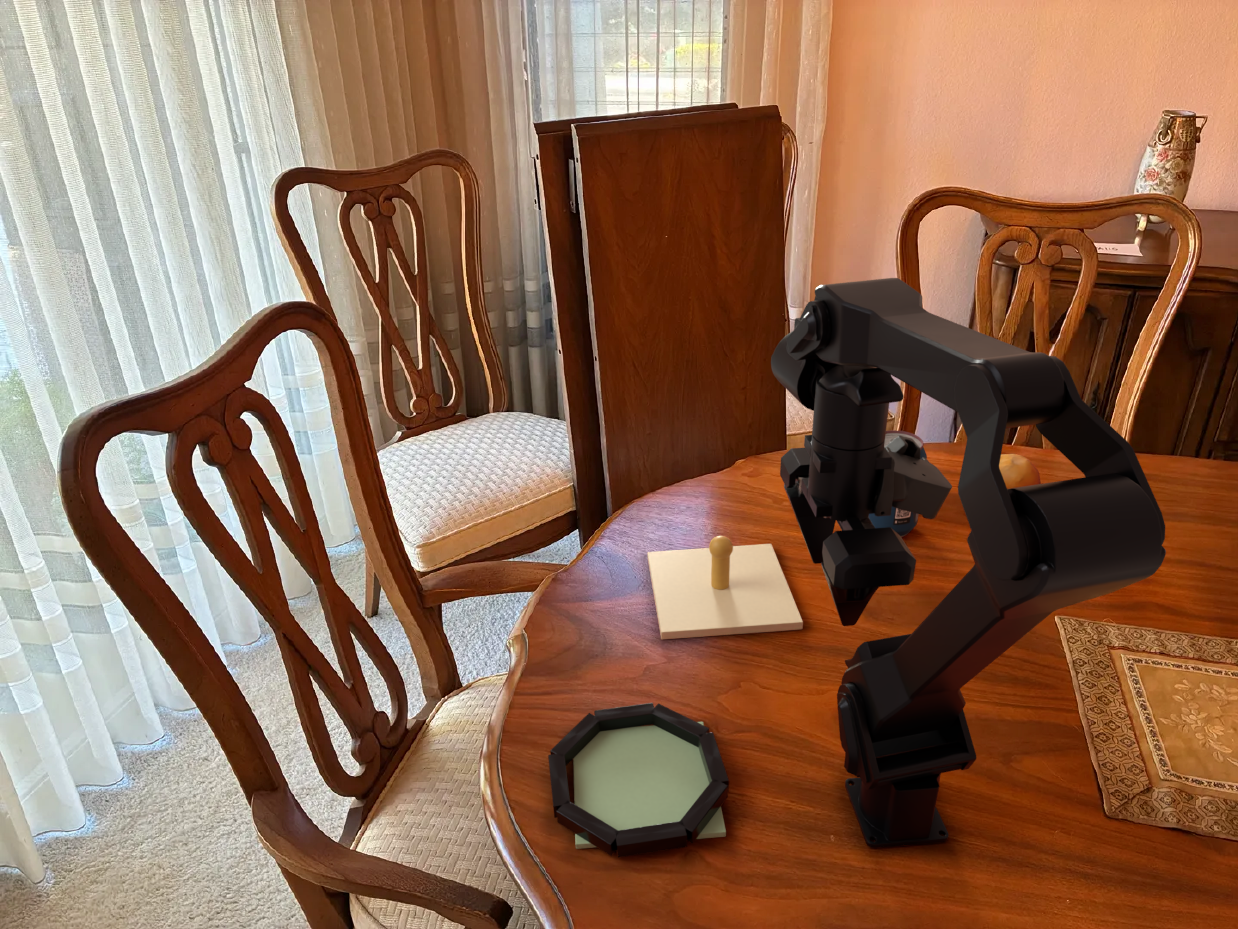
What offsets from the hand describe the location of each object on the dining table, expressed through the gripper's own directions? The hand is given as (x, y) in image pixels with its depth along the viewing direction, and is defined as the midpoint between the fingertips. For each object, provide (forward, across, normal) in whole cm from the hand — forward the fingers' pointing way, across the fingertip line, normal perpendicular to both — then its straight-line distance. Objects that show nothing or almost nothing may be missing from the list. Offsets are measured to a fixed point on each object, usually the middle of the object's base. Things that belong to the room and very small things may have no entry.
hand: (832, 592), depth 76 cm
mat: (+12, -9, +18) cm, 23 cm away
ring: (+11, -9, +19) cm, 23 cm away
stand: (+12, +17, +7) cm, 22 cm away
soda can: (+12, +28, -16) cm, 34 cm away
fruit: (+12, +31, -32) cm, 46 cm away
